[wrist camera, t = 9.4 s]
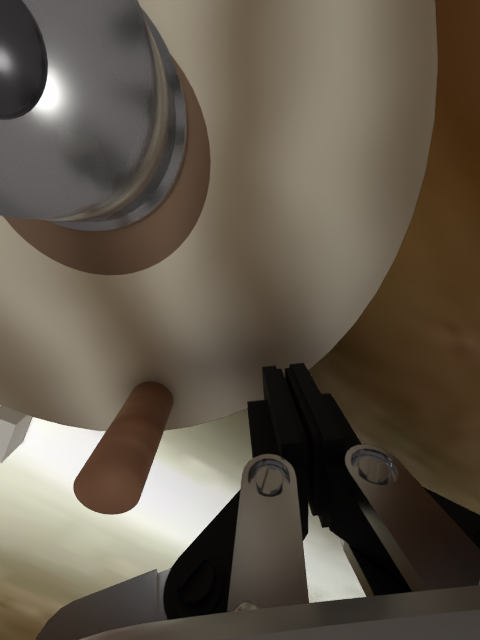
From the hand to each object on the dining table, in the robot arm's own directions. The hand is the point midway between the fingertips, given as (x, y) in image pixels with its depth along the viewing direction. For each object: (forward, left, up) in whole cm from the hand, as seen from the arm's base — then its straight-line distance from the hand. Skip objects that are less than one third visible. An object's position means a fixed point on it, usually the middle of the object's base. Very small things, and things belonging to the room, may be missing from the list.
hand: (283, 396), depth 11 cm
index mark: (+15, +3, -4) cm, 16 cm away
